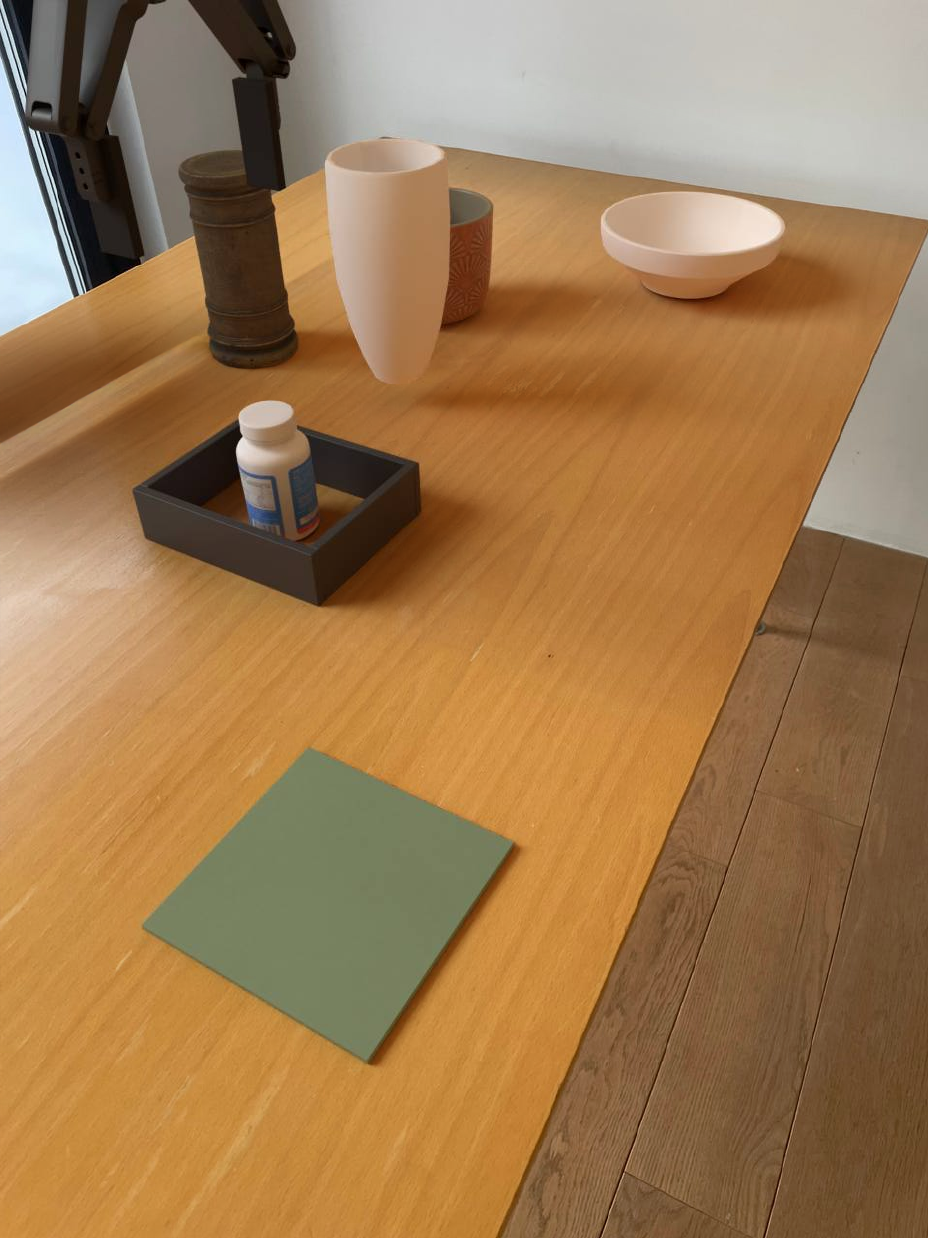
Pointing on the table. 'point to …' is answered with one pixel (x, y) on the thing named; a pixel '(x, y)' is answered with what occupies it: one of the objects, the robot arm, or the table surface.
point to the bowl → (691, 240)
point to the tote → (267, 556)
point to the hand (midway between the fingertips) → (200, 218)
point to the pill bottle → (277, 471)
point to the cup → (391, 249)
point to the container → (238, 262)
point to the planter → (468, 254)
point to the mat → (332, 899)
